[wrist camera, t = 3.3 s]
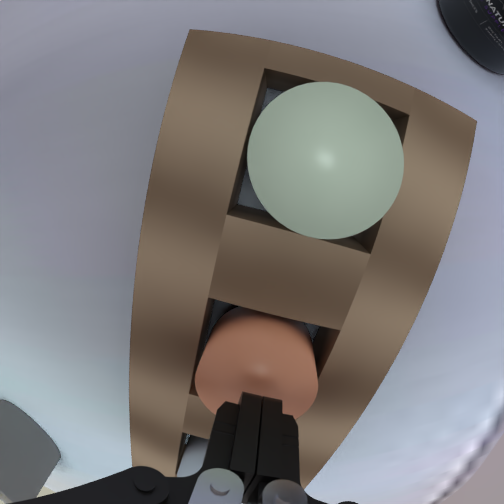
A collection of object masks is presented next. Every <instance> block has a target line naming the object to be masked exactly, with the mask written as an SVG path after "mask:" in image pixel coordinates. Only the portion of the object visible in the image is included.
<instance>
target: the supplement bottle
mask: <svg viewBox="0 0 504 504" xmlns="http://www.w3.org/2000/svg"><path fill="white" fill-rule="evenodd" d="M439 5H440V9H441V12H442V15H443V17H444V20H445V22H446V24H447V26H448V27H449V29H450V31H451V32H452V34H453V36H454V37H455V38H456V40H457V41H458V42H459V44H460V45H461V46H462V47H463V48H464V49H465V51H466V52H467V53H468V54H469V55H470V56H471V57H473V58H474V59H475V60H476V61H477V62H478V63H480V64H481V65H483V66H484V67H486V68H487V69H489V70H491V71H493V72H496V73H499V74H504V0H439Z"/></svg>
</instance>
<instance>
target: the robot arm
mask: <svg viewBox="0 0 504 504" xmlns="http://www.w3.org/2000/svg"><path fill="white" fill-rule="evenodd" d="M282 409H283V402H282V400H280V399H275V398H270V397H266V396H261V395H256V394H252V393H248V392H243V391H242V393H241V396H240V399H239V402H238V404H235V403H231V402H227V401H225V402H224V403H223V404H222V405H221V406H220V407H219V408H218V409H217V412H216V416H215V419H214V423H213V426H212V430H211V433H210V437H209V441H208V445H207V449H206V453H205V457H204V460H203V464H202V467H201V469H200V470H199V471H198V472H196V473H195V474H193V475H190V476H186V477H165V476H164V475H163V474H162V473H161V472H159V471H158V470H156V469H154V468H151V467H148V466H135V467H132V468H129V469H126V470H124V471H121V472H119V473H116V474H113V475H111V476H108V477H105V478H102V479H99V480H96V481H93V482H90V483H87V484H84V485H81V486H78V487H75V488H71V489H68V490H64V491H61V492H57V493H53V494H50V495H46V496H42V497H38V498H33V499H28V500H23V501H18V502H13V503H8V504H241V503H243V504H327V503H324V502H321V501H318V500H316V499H313V498H312V497H310V496H309V495H308V494H307V493H306V492H305V491H304V489H303V488H302V486H301V483H300V461H299V439H298V438H299V430H298V424H297V423H296V421H295V419H294V417H293V415H288V414H283V413H282ZM338 504H358V503H355V502H350V501H345V502H341V503H338Z"/></svg>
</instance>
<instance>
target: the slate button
mask: <svg viewBox="0 0 504 504" xmlns="http://www.w3.org/2000/svg"><path fill="white" fill-rule="evenodd" d="M208 441H209V439H205V438H201V437H197V436H194V435H190V437H189V439H188V442H187V445H186V448H185V451H184V454H183V457H182V460H181V464H180V467H179V470H178V473H177V477H186V476H190V475H193V474H195V473H196V472H198V471H199V470H200V469H201V467H202V464H203V460H204V457H205V453H206V449H207V445H208Z"/></svg>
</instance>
